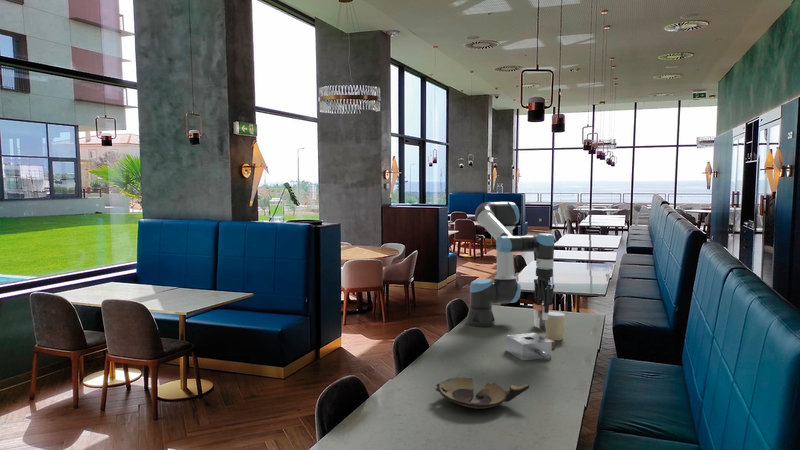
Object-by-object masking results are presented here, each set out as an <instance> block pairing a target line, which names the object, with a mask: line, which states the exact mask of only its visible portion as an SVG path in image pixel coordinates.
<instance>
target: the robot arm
mask: <svg viewBox="0 0 800 450" xmlns="http://www.w3.org/2000/svg"><path fill="white" fill-rule="evenodd" d="M474 218H475V219H474V220H475V221H476V223H477V224H478V225H479V226H480V227H482V228H484V229H485V230H486V231H487V232H488V234H490V235H491V237H492V238H493V239H494V240H495V245H496V246H495V248H496V275H495V277H494V278H493V280H492V279H490V278H479V279H475V280H473V281H471V282H470V285H469V288H470V289H469V310H468V313H467V316H466V318H465V323H466V324H467V326H471V327H475V328H476V327H477V328H489V327H490V328H491V327H493V326H495V324H496V319H495V316H494V312H493V305H494V304H495V305H496V304H510V303H511V304H512V303H514V304H515V303H517V302H518V300H519V299H520V296H521V284H520V282H519V280H517V277H516V276H515V275H514V253H529V252H531V253H536V256H535V257H536V259H535V262H536V263H535V266H536V268H535V276H536V277H537V278H535V279H533V283H534V301H536V303H544V305H542V320H548V312H550V310H549V306H550V305H552V304H553V299H554V289H555V284H554V283H553V284H552V281H551V278H552V277H553V276H554V269H553V268H554V256H555V235H553V234H552V233H544V232H543V233H540V232H539V233H538V234H537V235H536V234H528V235H514V234H513V233H514V232H513V230H514V229H515V228H516V224H518V223H519V221H520V210H519V207H518V206H517V204H516V203H515V202H512V201H486V202H483V203H481V204H479V205H478V207H477V208H476V209H475V213H474ZM537 317H540V311H537Z"/></svg>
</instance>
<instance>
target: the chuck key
mask: <svg viewBox="0 0 800 450" xmlns="http://www.w3.org/2000/svg"><path fill="white" fill-rule="evenodd" d="M542 305H544V302H542V303H537V302H536V303H532V308H533V311H534V310H536V311H540V317H539V328H538V329H539V330H541V331H542V330H543V331H544V330H545V331H546V328H545V327H546V320H542ZM553 307H554V304H553V303H552V305H550V306H549V311H553V309H554V308H553Z"/></svg>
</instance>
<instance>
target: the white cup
mask: <svg viewBox="0 0 800 450" xmlns="http://www.w3.org/2000/svg"><path fill="white" fill-rule="evenodd" d="M533 322H534V325H533V326H534V327H535V328H538V329H539V317H537V311H536V310H534V309H533ZM545 329H546V327H545Z"/></svg>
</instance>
